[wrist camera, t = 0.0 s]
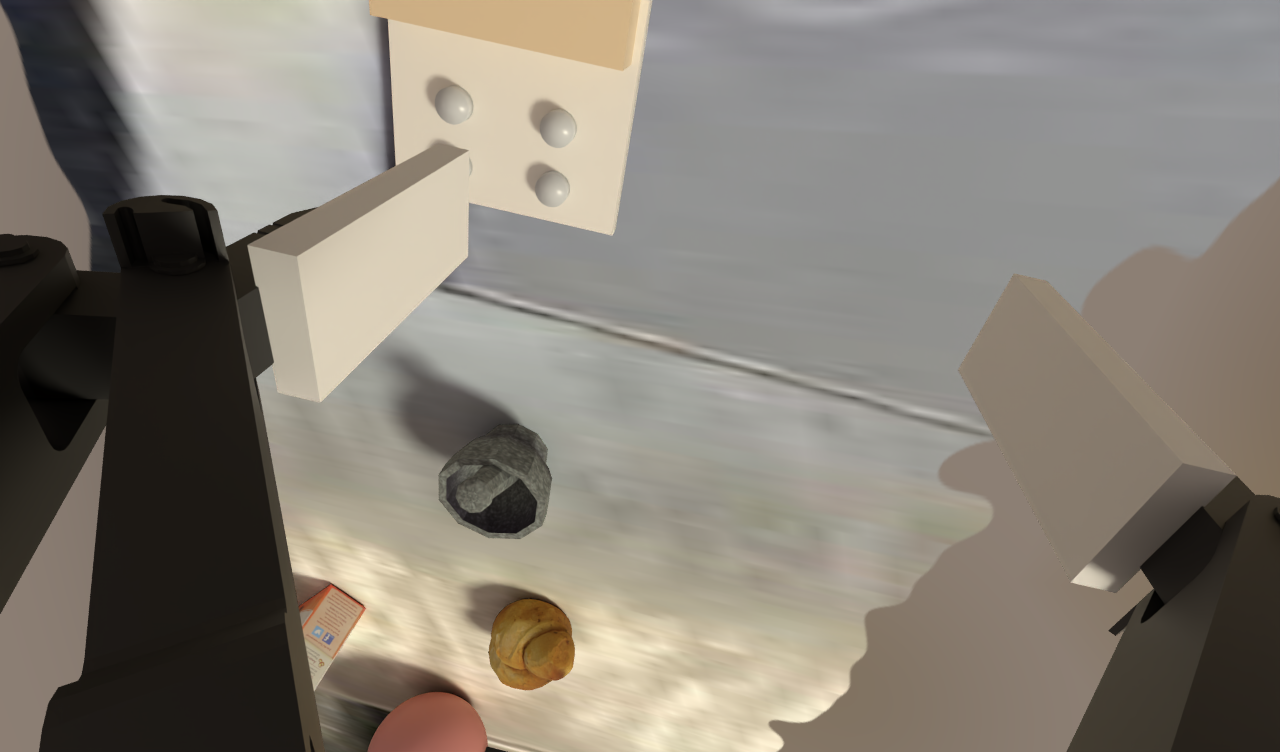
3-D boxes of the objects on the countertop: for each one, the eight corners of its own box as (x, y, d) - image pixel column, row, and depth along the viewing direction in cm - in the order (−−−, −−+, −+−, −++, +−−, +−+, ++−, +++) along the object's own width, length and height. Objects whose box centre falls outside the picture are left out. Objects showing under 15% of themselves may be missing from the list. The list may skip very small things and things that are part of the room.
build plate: (383, -282, 31) (337, -314, 27) (687, -218, 31) (679, -243, 27) (404, 181, 44) (375, 198, 41) (615, 229, 44) (603, 251, 41)
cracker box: (329, 579, 75) (202, 761, 57) (369, 606, 76) (258, 790, 59) (278, 615, 81) (150, 788, 64) (316, 639, 83) (202, 813, 66)
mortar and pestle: (558, 496, 60) (520, 598, 50) (468, 474, 61) (413, 571, 51) (572, 409, 54) (532, 506, 44) (471, 385, 54) (408, 476, 44)
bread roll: (554, 662, 77) (536, 726, 71) (484, 633, 76) (458, 696, 69) (591, 611, 70) (574, 677, 63) (514, 579, 69) (489, 642, 62)
